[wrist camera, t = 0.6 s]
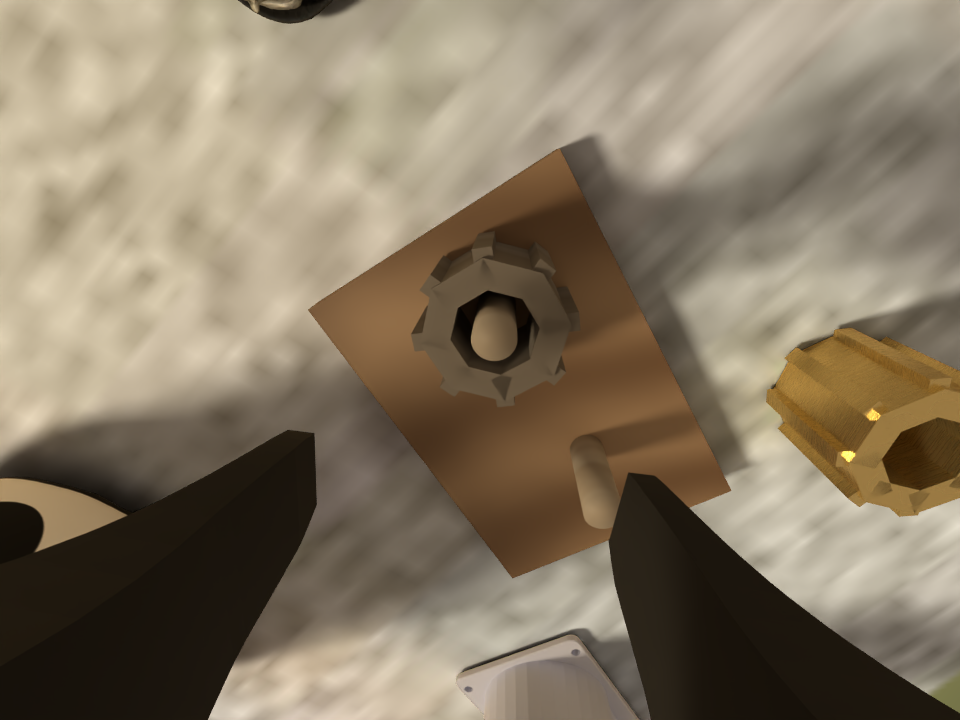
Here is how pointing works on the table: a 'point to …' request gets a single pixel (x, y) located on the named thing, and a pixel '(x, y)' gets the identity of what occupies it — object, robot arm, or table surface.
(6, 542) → the milk container
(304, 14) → the can opener
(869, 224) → the table surface
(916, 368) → the brass gear
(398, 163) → the table surface
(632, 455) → the gear board
